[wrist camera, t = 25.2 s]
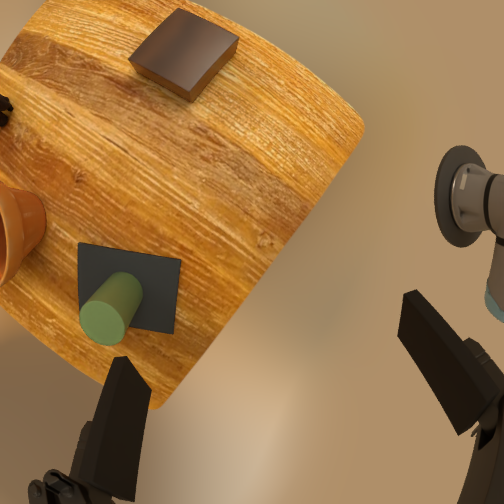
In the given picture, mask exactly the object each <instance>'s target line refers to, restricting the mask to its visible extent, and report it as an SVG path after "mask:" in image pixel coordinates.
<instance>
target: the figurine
mask: <svg viewBox="0 0 504 504" xmlns="http://www.w3.org/2000/svg"><path fill="white" fill-rule="evenodd" d="M8 102H9V99H8V97H4V96H2V95H1V94H0V127H3V126H5V124H6V123H7V120H8V117H7V116H6V115H5V114H3V113H2V112H1V111H5V110H6V109H7V110H8V111H12V110H13V107H12V105H11V104H10V103H8Z"/></svg>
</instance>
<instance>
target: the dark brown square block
mask: <svg viewBox="0 0 504 504" xmlns="http://www.w3.org/2000/svg"><path fill="white" fill-rule="evenodd" d="M238 41H239V37H238V36H236V35H234V34H232V33H231V32H229V31H227V30H225V29H223V28H221V27H219V26H217V25H215V24H213V23H211V22H209V21H207V20H205V19H203V18H201V17H199V16H197V15H194V14H192V13H190V12H188V11H185V10H183V9H180V8H177V9H176V10H175V11H174V12H173V13H172V14H171V15H170V16H168V17H167V18H166V19H165V20H164V21H163V22H162V23H161V24H160V25H159V26H158V27H157V28H156V29H155V30H154V31H153V32H152V33H151V34H150V35H149V36H148V37H147V38H146V39H145V41H144V42H143V43H142V44H141V45H140V46H139V47H138V48H137V49H136V50H135V52H134V53H133V54H132V55H131V56H130V57H129V59H128V60H129V61H130V63H131V64H132V66H133V67H134V69H135V70H136V71H137V73H139V74H141V75H143V76H145V77H147V78H149V79H151V80H153V81H154V82H156V83H158V84H160V85H162V86H163V87H165V88H167V89H169V90H170V91H172V92H174V93H176V94H177V95H179V96H181V97H182V98H184V99H186V100H187V101H189V102H191V103H193V101H194V100H195V99H196V98H197V96H198V95H199V94H200V93H201V91H202V90H203V89H204V88H205V87H206V85H207V84H208V83H209V82H210V81H211V80H212V78H213V77H214V76H215V75H216V74H217V73H218V72H219V70H220V69H221V68H222V67H223V66H224V65H225V64H226V63H227V62H228V61H229V60H230V58H231V57H232V56H233V55H234V54H235V53H236V49H237V45H238Z"/></svg>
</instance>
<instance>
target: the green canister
mask: <svg viewBox="0 0 504 504" xmlns="http://www.w3.org/2000/svg"><path fill="white" fill-rule="evenodd" d="M142 298H143V290H142V287H141V284H140V282H139V281H138V280H137V279H136V278H135V277H134V276H133V275H131V274H129V273H126V272H116V273H114V274H112V275H111V276H110V277H109V278H108V279H107V280H106V281H105V282H104V283H103V284H102V285H101V286H100V288H99V289H98V290H97V291H96V292H95V293H94V294H93V295H92V296H91V297H90V299H89V300H88V301H87V302H86V303H85V304H84V305H83V307H82V308H81V310H80V315H79V319H80V324H81V327H82V329H83V331H84V332H85V333H86V335H87V336H88V337H89V338H90V339H92V340H93V341H94V342H96V343H98V344H101V345H106V346H111V345H115V344H117V343H119V342H120V341H121V340H122V339H123V337H124V335H125V333H126V331H127V329H128V327H129V324H130V322H131V320H132V318H133V316H134V314H135V312H136V311H137V309H138V307H139V305H140V303H141V301H142Z"/></svg>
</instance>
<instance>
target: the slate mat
mask: <svg viewBox="0 0 504 504" xmlns="http://www.w3.org/2000/svg"><path fill="white" fill-rule="evenodd" d="M180 266H181V259H175V258H169V257H162V256H156V255H150V254H144V253H138V252H132V251H126V250H120V249H115V248H109V247H103V246H98V245H92V244H86V243H81V242H79V243H78V296H79V311H80V310H81V308H82V307H83V305H84V304H85V303H86V302H87V301H88V300H89V299H90V297H91V296H92V295H93V294H94V293H95V292H96V291H97V290H98V289H99V288H100V286H101V285H102V284H103V283H104V282H105V281H106V280H107V279H108V278H109V277H110V276H111V275H112V274H114V273H116V272H126V273H129V274H131V275H133V276H134V277H135V278H136V279H137V280H138V281H139V282H140V284H141V287H142V290H143V298H142V301H141V303H140V305H139V307H138V309H137V311H136V312H135V314H134V316H133V318H132V320H131V322H130V324H129V327H134V328H139V329H144V330H150V331H156V332H161V333H167V334H173V333H174V322H175V311H176V301H177V291H178V283H179V274H180Z"/></svg>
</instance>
